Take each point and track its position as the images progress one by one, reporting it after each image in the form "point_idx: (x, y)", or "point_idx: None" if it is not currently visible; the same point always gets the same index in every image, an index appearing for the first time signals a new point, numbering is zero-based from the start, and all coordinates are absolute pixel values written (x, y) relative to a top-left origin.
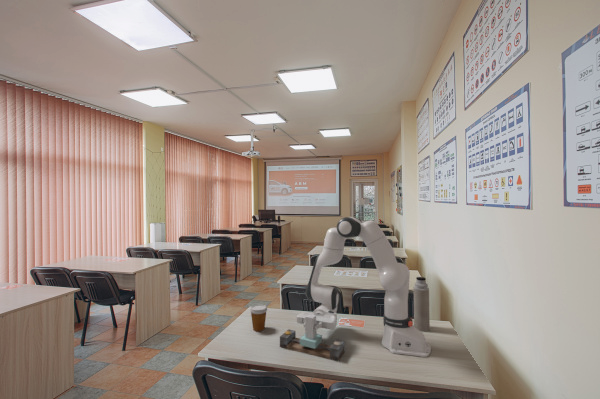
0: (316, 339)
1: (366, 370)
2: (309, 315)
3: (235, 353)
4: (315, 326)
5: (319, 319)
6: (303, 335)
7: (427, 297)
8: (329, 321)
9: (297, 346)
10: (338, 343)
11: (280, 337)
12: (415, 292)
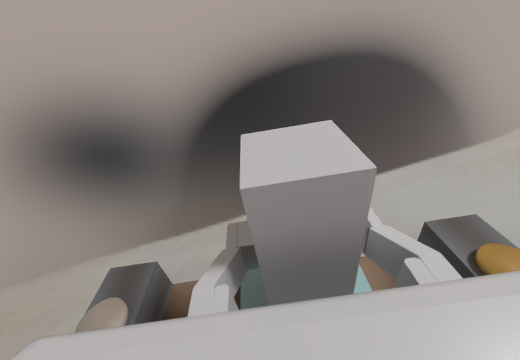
0: (249, 279)
1: (25, 299)
2: (320, 149)
3: (486, 154)
4: (240, 222)
5: (238, 339)
6: (366, 280)
7: None
8: (54, 357)
9: (363, 270)
10: (92, 319)
11: (469, 218)
12: None
